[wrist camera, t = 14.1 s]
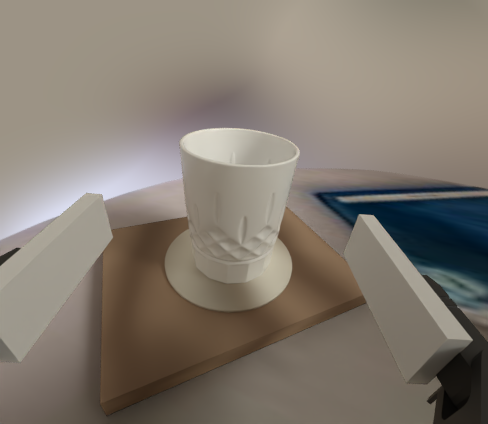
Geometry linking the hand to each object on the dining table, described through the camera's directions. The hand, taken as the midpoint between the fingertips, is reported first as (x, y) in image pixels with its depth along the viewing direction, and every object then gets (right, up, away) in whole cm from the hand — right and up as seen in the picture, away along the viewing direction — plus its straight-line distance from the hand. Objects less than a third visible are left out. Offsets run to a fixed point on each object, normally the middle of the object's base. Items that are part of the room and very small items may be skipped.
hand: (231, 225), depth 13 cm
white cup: (0, -3, +9) cm, 9 cm away
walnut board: (-1, -5, +10) cm, 11 cm away
